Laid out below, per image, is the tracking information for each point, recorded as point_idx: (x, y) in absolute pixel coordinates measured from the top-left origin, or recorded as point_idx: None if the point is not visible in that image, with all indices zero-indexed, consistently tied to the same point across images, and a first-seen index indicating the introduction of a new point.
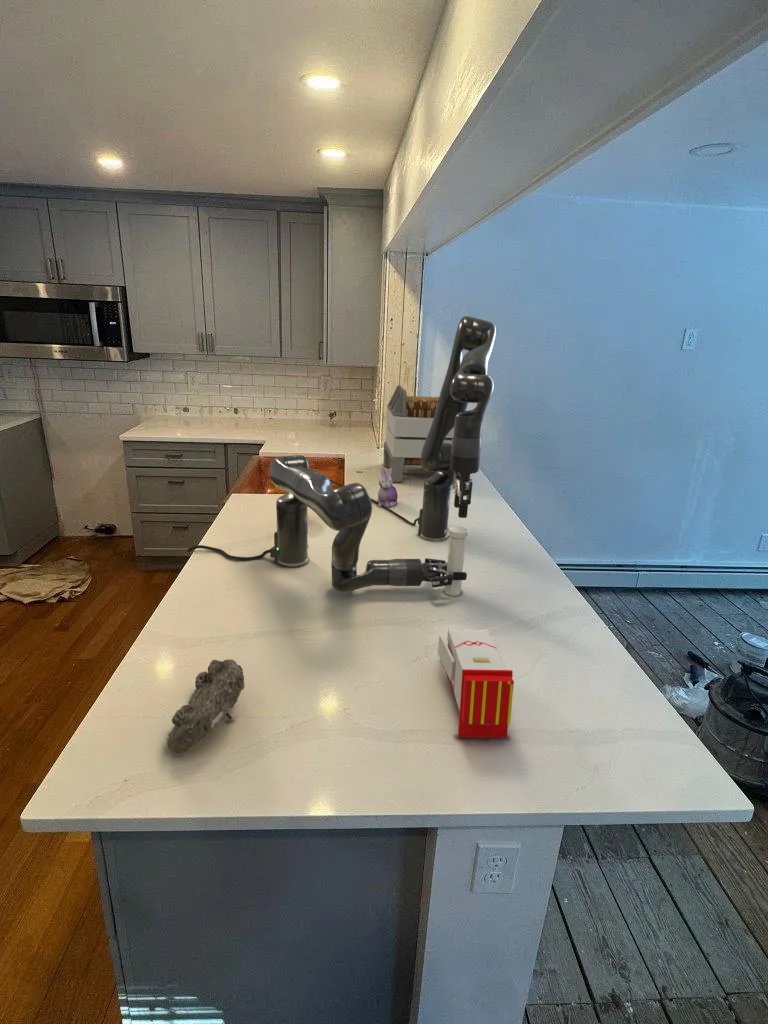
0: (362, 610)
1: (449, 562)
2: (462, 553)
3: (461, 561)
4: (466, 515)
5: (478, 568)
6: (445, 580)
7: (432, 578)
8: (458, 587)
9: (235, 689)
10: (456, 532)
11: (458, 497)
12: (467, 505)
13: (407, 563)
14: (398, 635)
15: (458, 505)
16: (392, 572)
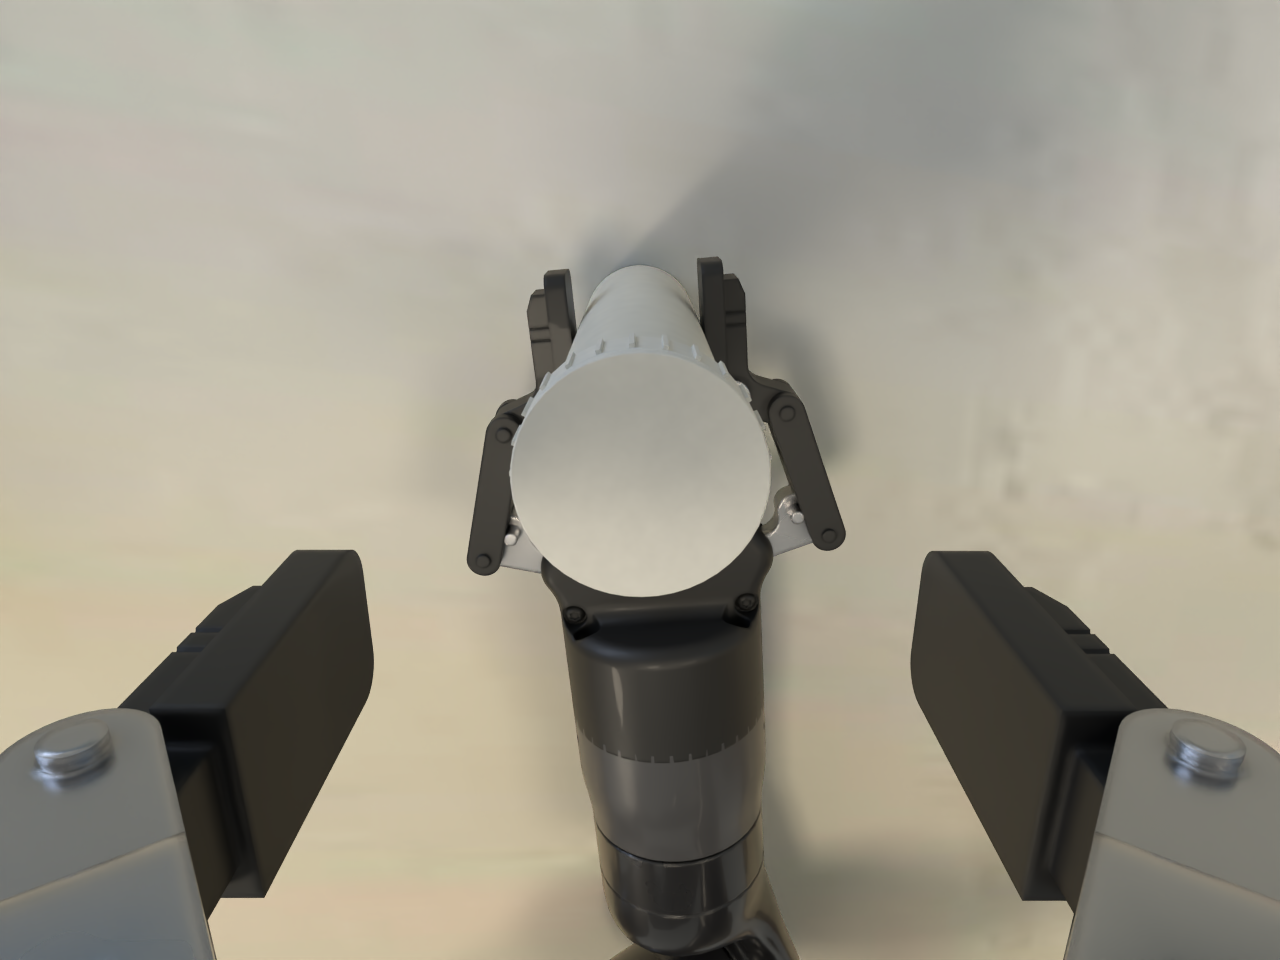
0: (867, 814)
1: None
2: (703, 345)
3: (700, 332)
4: (996, 571)
5: (198, 37)
6: None
7: (784, 537)
8: (688, 298)
9: None
10: (749, 522)
11: (280, 768)
12: (1126, 709)
13: (713, 746)
14: (1127, 664)
15: (351, 633)
16: (757, 801)
